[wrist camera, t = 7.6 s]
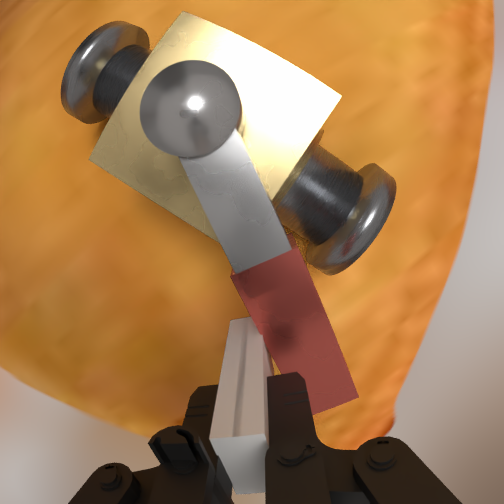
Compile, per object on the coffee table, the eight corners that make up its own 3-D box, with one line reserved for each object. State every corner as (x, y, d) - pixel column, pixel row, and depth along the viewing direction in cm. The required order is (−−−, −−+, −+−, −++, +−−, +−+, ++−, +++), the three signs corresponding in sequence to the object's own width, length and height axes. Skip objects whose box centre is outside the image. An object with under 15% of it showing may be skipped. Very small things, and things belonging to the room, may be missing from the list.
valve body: (94, 129, 20) (25, 118, 12) (153, 35, 18) (105, -14, 10) (309, 263, 22) (332, 313, 14) (374, 167, 20) (432, 168, 12)
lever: (154, 106, 12) (125, 91, 9) (224, 70, 11) (213, 43, 8) (292, 383, 15) (297, 425, 12) (353, 359, 14) (369, 397, 11)
